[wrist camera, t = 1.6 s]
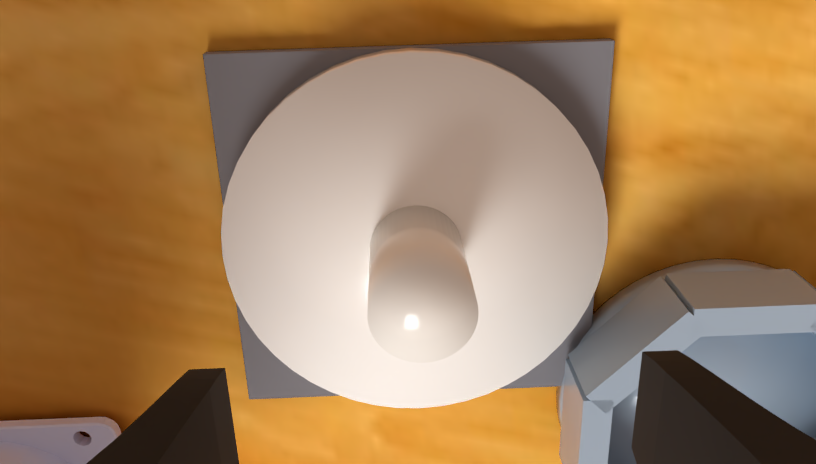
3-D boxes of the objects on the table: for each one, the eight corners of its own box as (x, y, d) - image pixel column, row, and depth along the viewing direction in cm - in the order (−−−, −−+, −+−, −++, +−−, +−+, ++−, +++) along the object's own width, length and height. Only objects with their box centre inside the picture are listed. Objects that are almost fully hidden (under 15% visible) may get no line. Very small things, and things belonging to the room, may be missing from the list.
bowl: (549, 502, 24) (569, 571, 21) (564, 264, 21) (590, 313, 18) (809, 490, 24) (860, 558, 22) (865, 253, 21) (933, 299, 18)
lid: (248, 398, 22) (219, 505, 18) (203, 53, 18) (151, 92, 14) (586, 384, 22) (631, 487, 18) (614, 41, 18) (681, 74, 14)
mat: (251, 391, 22) (249, 399, 22) (206, 51, 18) (202, 54, 18) (583, 377, 22) (587, 385, 22) (610, 38, 18) (614, 40, 18)
